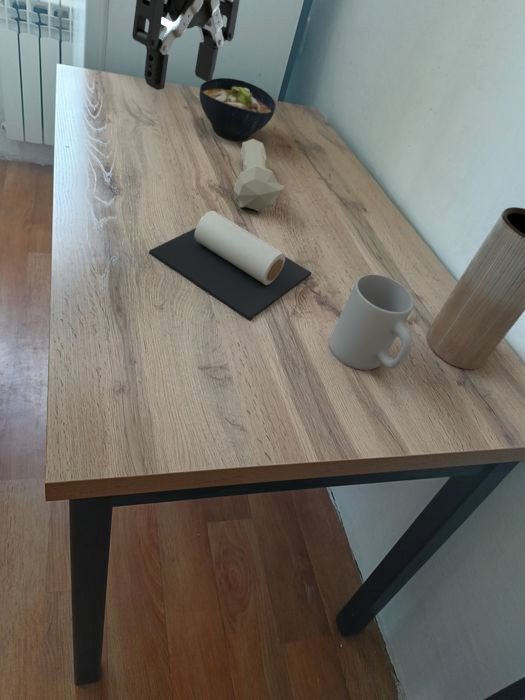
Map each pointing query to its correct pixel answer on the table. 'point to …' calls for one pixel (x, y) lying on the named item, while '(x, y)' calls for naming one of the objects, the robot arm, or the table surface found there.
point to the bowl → (235, 107)
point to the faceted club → (256, 178)
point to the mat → (226, 275)
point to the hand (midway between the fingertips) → (180, 82)
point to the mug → (373, 324)
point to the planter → (484, 296)
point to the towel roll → (239, 247)
